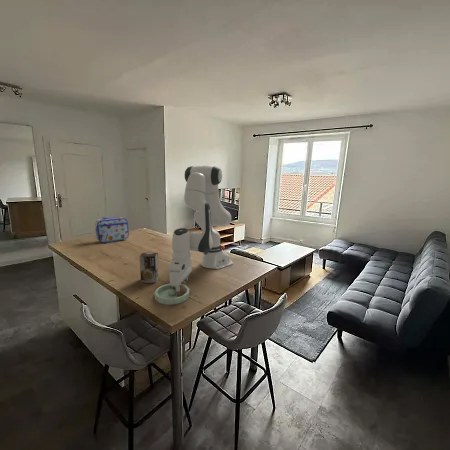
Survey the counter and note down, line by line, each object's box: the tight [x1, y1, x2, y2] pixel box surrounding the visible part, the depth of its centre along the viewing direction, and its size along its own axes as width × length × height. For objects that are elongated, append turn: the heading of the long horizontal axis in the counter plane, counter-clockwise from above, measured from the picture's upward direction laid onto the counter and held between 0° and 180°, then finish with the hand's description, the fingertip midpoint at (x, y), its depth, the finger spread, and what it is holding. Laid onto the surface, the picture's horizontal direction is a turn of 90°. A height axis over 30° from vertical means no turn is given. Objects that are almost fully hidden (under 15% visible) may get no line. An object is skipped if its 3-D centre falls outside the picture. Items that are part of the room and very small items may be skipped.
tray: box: [154, 283, 191, 306], centre depth 124 cm, size 17×17×3 cm
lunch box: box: [94, 216, 130, 244], centre depth 216 cm, size 28×10×22 cm, turn 130°
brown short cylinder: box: [177, 284, 186, 297], centre depth 123 cm, size 4×4×5 cm
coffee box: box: [139, 252, 160, 284], centre depth 140 cm, size 9×6×16 cm
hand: (181, 286), depth 124 cm, fingers open, 8 cm apart
